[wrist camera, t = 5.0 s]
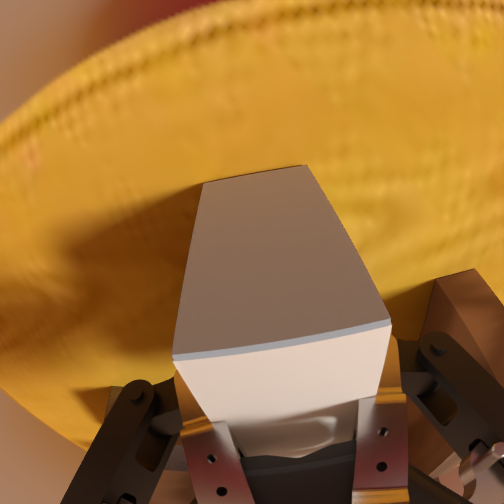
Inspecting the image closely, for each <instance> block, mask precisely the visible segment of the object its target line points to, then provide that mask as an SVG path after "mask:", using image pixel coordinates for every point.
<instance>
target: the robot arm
mask: <svg viewBox="0 0 504 504" xmlns="http://www.w3.org/2000/svg"><path fill="white" fill-rule="evenodd" d="M406 395H408V396H409V398H410V399H411V400H412V401H413V402H414V403H415V405H416V406H417V407H418V408H419V409H420V411H421V412H422V413H423V414H424V415H425V416H426V418H427V419H428V420H429V421H430V422H431V424H432V425H433V426H434V427H435V428H436V430H437V431H438V432H439V433H440V434H441V436H442V437H443V438H444V439H445V440H446V442H447V443H448V444H449V445H450V446H451V448H452V449H453V450H454V451H455V452H456V454H457V455H458V456H459V457H460V459H461V460H462V461H461V463H460V465H459V477H460V479H461V481H462V483H463V486H464V494H463V497H462V496H460V495H458V494H457V493H455V492H453V491H452V490H450V489H449V488H447V487H445V486H444V485H442V484H441V483H439V482H437V481H436V480H434V479H433V478H431V477H430V476H428V475H426V474H425V473H423V472H422V471H420V470H419V469H417V468H416V467H414V466H413V465H411V464H410V463H408V420H407V400H406ZM180 434H181V440H182V444H183V448H184V452H185V457H186V461H187V465H188V469H189V473H190V477H191V480H192V484H193V488H194V491H195V495H196V497H195V498H194V499H193V500H192V501H191V503H190V504H504V388H503V387H502V386H501V385H500V384H499V383H498V382H497V381H496V380H495V379H494V378H493V377H492V376H491V375H490V374H489V373H488V372H487V371H486V370H485V369H484V368H483V367H482V366H481V365H480V364H479V363H478V362H477V361H476V360H475V359H474V358H473V357H472V356H471V355H470V354H469V353H468V352H467V351H466V350H465V349H464V348H463V347H462V346H460V345H459V344H458V343H457V342H456V341H455V340H454V339H453V338H452V337H451V336H450V335H448V334H446V333H444V332H441V331H433V332H430V333H427V334H426V335H425V336H424V337H423V338H422V340H421V341H403V340H399V339H396V338H395V337H394V336H393V335H392V334H390V339H389V344H388V348H387V353H386V357H385V362H384V366H383V370H382V374H381V378H380V382H379V386H378V390H377V393H376V396H372V397H367V398H362V399H359V401H358V406H357V411H356V416H355V421H354V425H353V430H352V434H351V438H350V441H346V442H341V443H337V444H332V445H329V446H327V447H324V448H322V449H320V450H317V451H315V452H313V453H310V454H308V455H306V456H303V457H300V458H293V457H281V456H271V455H261V456H251V457H248V456H247V454H246V453H245V451H244V450H243V448H242V446H241V445H240V443H239V441H238V440H237V438H236V437H235V435H234V433H233V432H232V430H231V428H230V427H229V425H228V423H227V422H226V421H218V422H210V420H209V419H208V417H207V416H206V414H205V413H204V411H203V410H202V408H201V407H200V405H199V404H198V402H197V400H196V399H195V397H194V396H193V394H192V393H191V391H190V390H189V388H188V386H187V385H186V383H185V381H184V380H183V378H182V377H181V375H180V373H179V372H178V370H176V372H175V375H174V377H172V378H171V379H169V380H166V381H164V382H161V383H158V384H155V385H151V384H150V383H149V382H148V381H146V380H134V381H132V382H130V383H128V384H127V385H126V386H125V387H124V388H123V389H122V391H121V392H120V394H119V396H118V398H117V399H116V401H115V403H114V405H113V406H112V408H111V410H110V412H109V413H108V415H107V417H106V419H105V421H104V422H103V424H102V426H101V428H100V430H99V431H98V433H97V435H96V437H95V439H94V440H93V442H92V444H91V446H90V448H89V450H88V452H87V453H86V455H85V457H84V459H83V461H82V463H81V465H80V467H79V468H78V470H77V472H76V474H75V476H74V478H73V480H72V482H71V484H70V486H69V488H68V490H67V491H66V493H65V495H64V497H63V499H62V501H61V503H60V504H149V502H150V499H151V497H152V495H153V493H154V491H155V488H156V486H157V484H158V482H159V479H160V477H161V475H162V473H163V470H164V468H165V466H166V464H167V462H168V459H169V457H170V455H171V453H172V450H173V448H174V446H175V444H176V441H177V439H178V437H179V435H180Z"/></svg>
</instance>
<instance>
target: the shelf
mask: <svg viewBox="0 0 504 504" xmlns="http://www.w3.org/2000/svg"><path fill="white" fill-rule="evenodd" d="M433 331H441V332H444V333H446V334H448V335H450V336H451V337H452V338H453V339H454V340H455V341H456V342H457V343H458V344H459V345H460V346H462V347H463V348H464V349H465V350H466V351H467V352H468V353H469V354H470V355H471V356H472V357H473V358H474V359H475V360H476V361H477V362H478V363H479V364H480V365H481V366H482V367H483V368H484V369H485V370H486V371H487V372H488V373H489V374H490V375H491V376H492V377H493V378H494V379H495V380H496V381H497V382H498V383H499V384H500V385H501V386H502V387H503V388H504V306H503V304H502V303H501V302H500V300H499V299H498V298H497V296H496V295H495V294H494V292H493V291H492V290H491V288H490V287H489V286H488V285H487V283H486V282H485V281H484V279H483V278H482V277H481V276H480V274H479V273H478V272H477V271H476V270H475V269H472V270H468V271H465V272H461V273H457V274H453V275H449V276H446V277H442V278H438V279H435V283H434V287H433V292H432V296H431V300H430V304H429V307H428V311H427V315H426V319H425V322H424V326H423V329H422V332H421V336H420V339H419V341H421V340H422V338H423V337H424V336H425V335H426V334H427V333H430V332H433ZM406 400H407V420H408V463H410V464H411V465H413V466H414V467H416V468H417V469H419V470H420V471H422V472H423V473H425V474H426V475H428V476H430V477H431V478H433V479H434V480H436V481H437V482H439V483H440V481H439V478H438V477H439V476H442V475H444V474H446V473H449V472H450V471H451V470H452V469H453V468H455V467H456V466H457V465H458V464H460V463H461V461H462V460H461V459H460V457H459V456H458V455H457V454H456V452H455V451H454V450H453V449H452V448H451V446H450V445H449V444H448V443H447V442H446V440H445V439H444V438H443V437H442V436H441V434H440V433H439V432H438V431H437V430H436V428H435V427H434V426H433V425H432V424H431V422H430V421H429V420H428V419H427V418H426V416H425V415H424V414H423V413H422V412H421V411H420V409H419V408H418V407H417V406H416V405H415V403H414V402H413V401H412V400H411V399H410V398H409V396H408V395H406ZM195 497H196V495H195V491H194V488H193V484H192V480H191V477H190V473H189V472H186V471H169V470H163V473H162V475H161V477H160V479H159V482H158V484H157V486H156V488H155V491H154V493H153V495H152V497H151V499H150V502H149V504H190V503H191V501H192V500H193V499H194V498H195Z"/></svg>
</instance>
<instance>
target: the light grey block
mask: <svg viewBox="0 0 504 504" xmlns="http://www.w3.org/2000/svg"><path fill="white" fill-rule="evenodd" d="M391 329H392V323H391V317H390V315H389V313H388V311H387V309H386V306H385V304H384V302H383V300H382V298H381V296H380V294H379V292H378V290H377V288H376V286H375V284H374V282H373V281H372V279H371V277H370V275H369V273H368V271H367V269H366V267H365V265H364V263H363V261H362V259H361V258H360V256H359V254H358V252H357V250H356V248H355V246H354V245H353V243H352V241H351V239H350V237H349V236H348V234H347V232H346V230H345V228H344V227H343V225H342V223H341V221H340V220H339V218H338V216H337V214H336V213H335V211H334V209H333V207H332V206H331V204H330V202H329V201H328V199H327V197H326V196H325V194H324V192H323V191H322V189H321V187H320V186H319V184H318V182H317V181H316V179H315V177H314V176H313V174H312V172H311V171H310V169H309V168H308V166H307V165H303V166H297V167H290V168H284V169H278V170H272V171H266V172H260V173H255V174H249V175H244V176H238V177H233V178H228V179H223V180H218V181H213V182H208V183H203V188H202V192H201V197H200V201H199V206H198V210H197V215H196V220H195V225H194V229H193V234H192V239H191V244H190V249H189V254H188V259H187V265H186V270H185V275H184V281H183V286H182V292H181V298H180V303H179V309H178V315H177V321H176V327H175V334H174V340H173V347H172V353H171V355H172V357H173V361H172V362H173V363H174V365H175V367H176V368H177V370H178V372H179V373H180V375H181V377H182V378H183V380H184V381H185V383H186V385H187V386H188V388H189V390H190V391H191V393H192V394H193V396H194V397H195V399H196V400H197V402H198V404H199V405H200V407H201V408H202V410H203V411H204V413H205V414H206V416H207V417H208V419H209V420H210V422H218V421H226V422H227V423H228V425H229V427H230V428H231V430H232V432H233V433H234V435H235V437H236V438H237V440H238V441H239V443H240V445H241V446H242V448H243V450H244V451H245V453H246V454H247V456H248V457H251V456H261V455H271V456H281V457H293V458H300V457H303V456H306V455H308V454H310V453H313V452H315V451H317V450H320V449H322V448H324V447H327V446H329V445H332V444H337V443H341V442H346V441H350V438H351V434H352V430H353V425H354V421H355V416H356V411H357V406H358V401H359V399H362V398H367V397H372V396H376V393H377V390H378V386H379V382H380V378H381V374H382V370H383V366H384V362H385V357H386V353H387V348H388V344H389V339H390V334H391Z"/></svg>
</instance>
